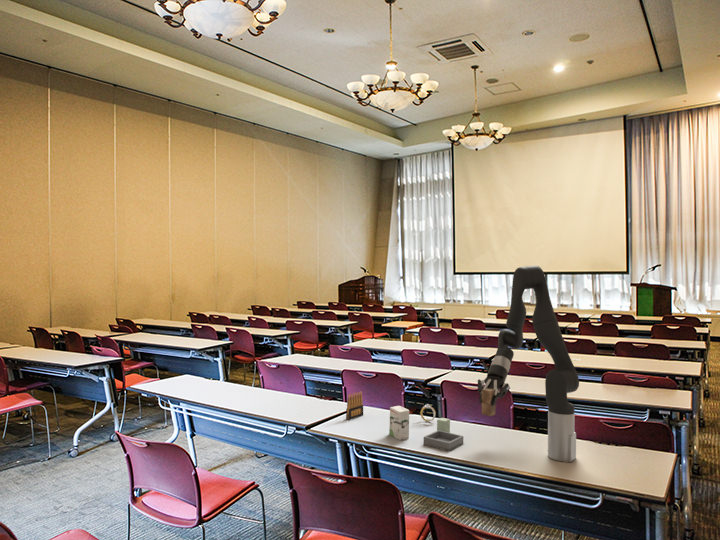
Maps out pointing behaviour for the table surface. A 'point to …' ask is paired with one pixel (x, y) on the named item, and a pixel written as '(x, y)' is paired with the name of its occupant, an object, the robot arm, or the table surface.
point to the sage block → (443, 425)
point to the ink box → (399, 422)
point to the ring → (425, 408)
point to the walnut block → (487, 402)
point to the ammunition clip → (354, 406)
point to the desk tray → (443, 440)
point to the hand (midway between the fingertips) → (486, 403)
